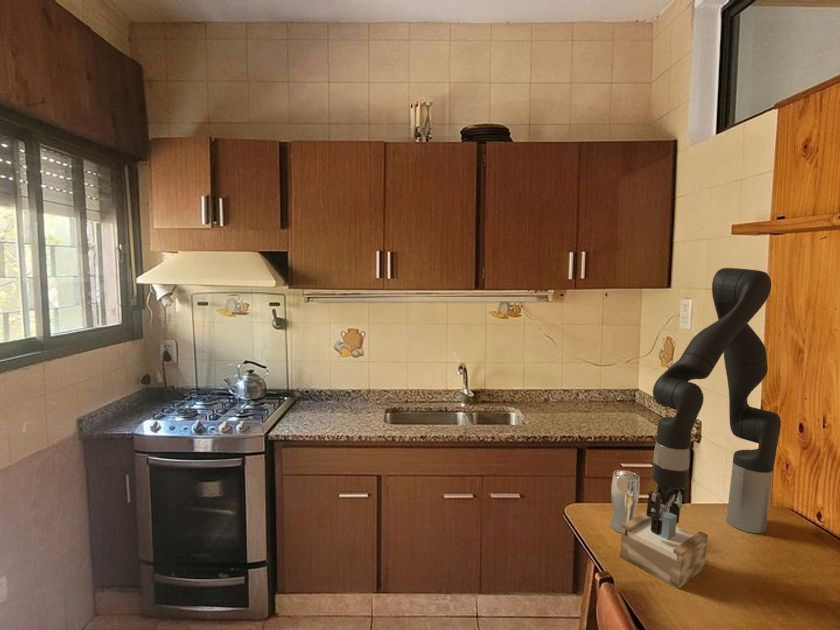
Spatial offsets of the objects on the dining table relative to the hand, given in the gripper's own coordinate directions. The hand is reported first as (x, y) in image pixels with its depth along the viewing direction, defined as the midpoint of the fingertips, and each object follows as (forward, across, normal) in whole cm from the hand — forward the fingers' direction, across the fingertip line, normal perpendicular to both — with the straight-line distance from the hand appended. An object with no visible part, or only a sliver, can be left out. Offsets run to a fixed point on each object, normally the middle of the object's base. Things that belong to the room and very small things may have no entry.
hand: (664, 527), depth 116 cm
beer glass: (+9, -6, -14) cm, 18 cm away
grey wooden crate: (+9, 0, 0) cm, 9 cm away
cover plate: (+3, 0, 0) cm, 3 cm away
